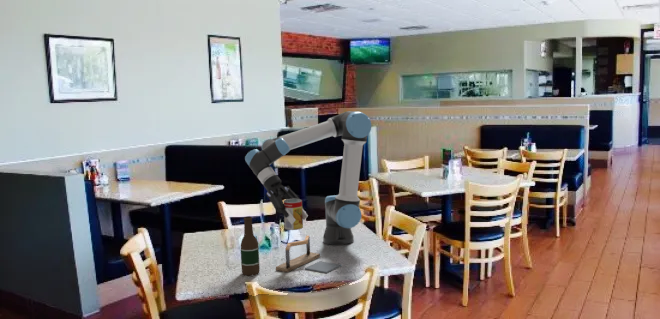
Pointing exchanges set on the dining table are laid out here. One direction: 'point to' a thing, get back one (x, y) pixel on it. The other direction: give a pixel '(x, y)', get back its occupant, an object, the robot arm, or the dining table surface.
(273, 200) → the robot arm
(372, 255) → the dining table surface
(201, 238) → the dining table surface
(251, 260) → the beer bottle
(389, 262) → the dining table surface
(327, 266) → the charcoal mat
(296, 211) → the canned food
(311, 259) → the wooden frame rack
